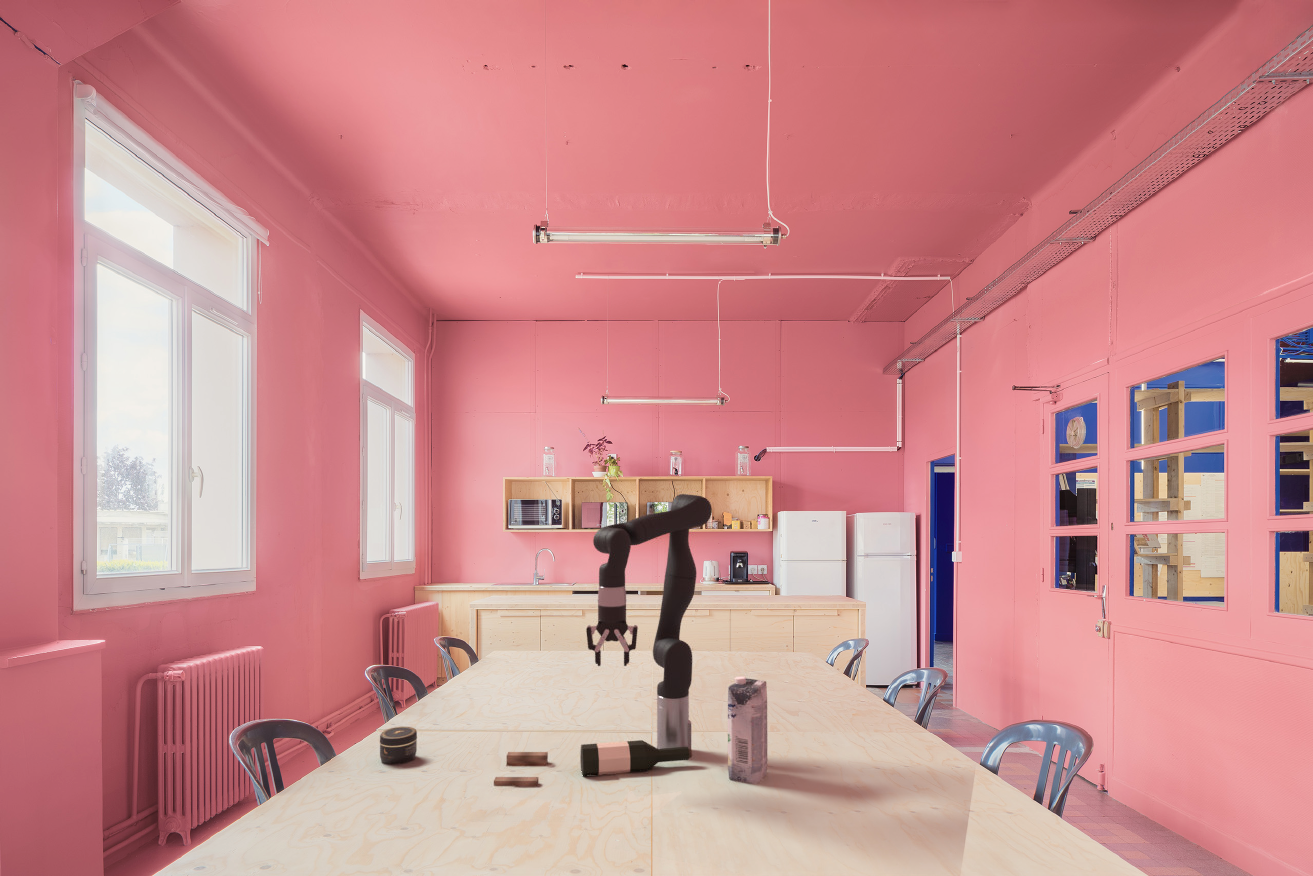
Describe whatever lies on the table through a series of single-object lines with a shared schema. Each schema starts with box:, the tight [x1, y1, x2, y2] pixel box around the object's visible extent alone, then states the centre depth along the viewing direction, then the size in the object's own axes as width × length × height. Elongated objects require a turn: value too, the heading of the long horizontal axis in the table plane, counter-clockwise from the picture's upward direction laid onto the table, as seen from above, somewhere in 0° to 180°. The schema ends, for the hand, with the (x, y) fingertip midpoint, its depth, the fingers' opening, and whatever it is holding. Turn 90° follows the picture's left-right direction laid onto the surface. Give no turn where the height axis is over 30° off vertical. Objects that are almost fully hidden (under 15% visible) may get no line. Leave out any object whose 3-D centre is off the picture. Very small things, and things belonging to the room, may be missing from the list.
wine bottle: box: [579, 739, 693, 777], centre depth 205 cm, size 8×8×30 cm
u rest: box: [493, 751, 549, 787], centre depth 201 cm, size 11×19×3 cm, turn 0°
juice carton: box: [727, 675, 768, 785], centre depth 198 cm, size 9×10×27 cm
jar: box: [379, 726, 418, 765], centre depth 213 cm, size 10×10×8 cm
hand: (612, 665), depth 202 cm, fingers open, 6 cm apart
